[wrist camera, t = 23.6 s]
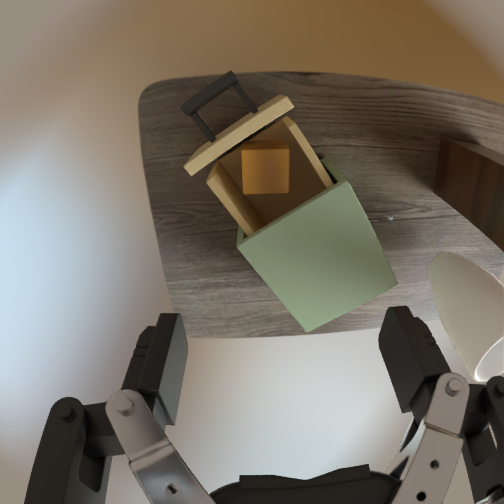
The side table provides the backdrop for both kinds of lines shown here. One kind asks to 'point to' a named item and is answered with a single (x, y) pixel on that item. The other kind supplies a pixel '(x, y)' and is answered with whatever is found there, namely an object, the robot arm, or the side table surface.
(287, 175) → the block
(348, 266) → the cabinet
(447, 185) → the stand
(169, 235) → the side table surface
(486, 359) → the cup
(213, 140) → the drawer
